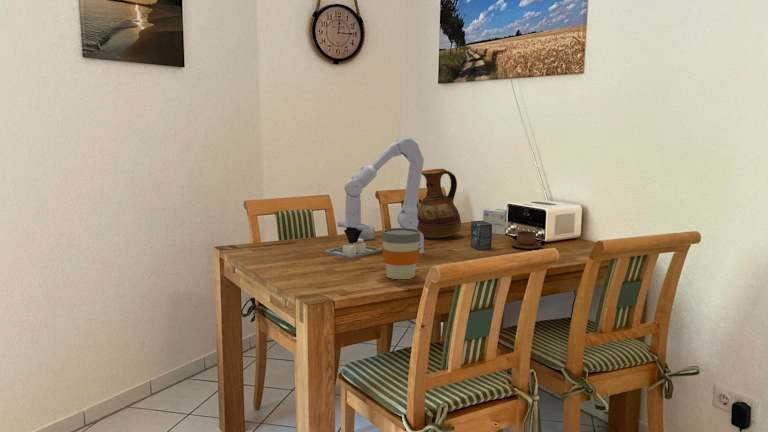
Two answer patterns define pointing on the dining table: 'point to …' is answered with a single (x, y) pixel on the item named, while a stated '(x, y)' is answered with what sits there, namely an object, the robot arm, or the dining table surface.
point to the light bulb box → (496, 220)
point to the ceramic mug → (368, 234)
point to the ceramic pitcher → (438, 207)
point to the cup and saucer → (527, 240)
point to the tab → (349, 249)
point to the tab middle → (360, 247)
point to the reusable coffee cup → (400, 252)
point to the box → (481, 235)
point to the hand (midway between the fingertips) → (353, 247)
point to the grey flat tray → (340, 253)
